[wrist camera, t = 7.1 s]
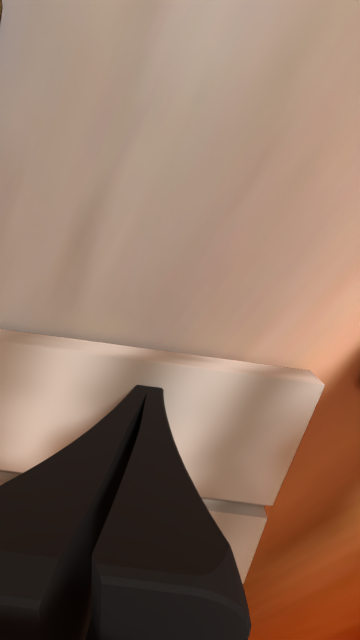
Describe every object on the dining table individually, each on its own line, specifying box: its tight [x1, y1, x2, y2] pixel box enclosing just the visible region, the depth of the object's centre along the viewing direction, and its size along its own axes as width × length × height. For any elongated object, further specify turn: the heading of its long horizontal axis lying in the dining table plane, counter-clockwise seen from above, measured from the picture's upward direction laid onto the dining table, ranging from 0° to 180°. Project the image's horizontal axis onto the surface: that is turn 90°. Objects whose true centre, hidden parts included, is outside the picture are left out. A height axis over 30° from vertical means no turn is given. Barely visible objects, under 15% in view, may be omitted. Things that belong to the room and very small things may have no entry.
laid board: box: [0, 470, 268, 584], centre depth 14 cm, size 18×8×1 cm, turn 83°
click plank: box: [0, 329, 325, 506], centre depth 11 cm, size 18×9×1 cm, turn 83°
